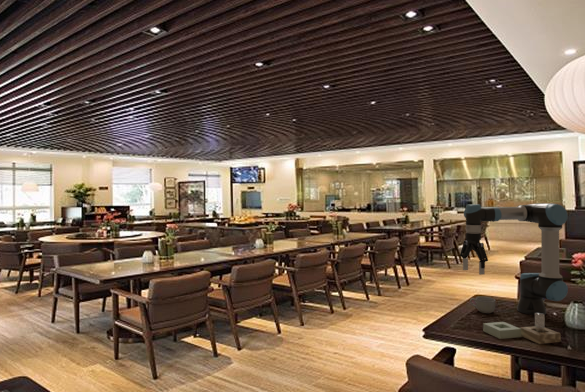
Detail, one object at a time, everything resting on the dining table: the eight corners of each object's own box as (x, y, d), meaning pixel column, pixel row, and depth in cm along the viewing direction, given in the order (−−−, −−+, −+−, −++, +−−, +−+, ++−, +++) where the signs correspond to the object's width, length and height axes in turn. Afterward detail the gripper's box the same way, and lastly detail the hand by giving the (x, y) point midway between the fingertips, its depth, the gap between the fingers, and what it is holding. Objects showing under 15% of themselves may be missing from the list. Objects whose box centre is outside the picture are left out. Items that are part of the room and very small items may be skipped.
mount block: (540, 333, 209) (540, 325, 209) (560, 341, 197) (560, 333, 197) (519, 335, 206) (519, 327, 206) (539, 343, 194) (539, 335, 194)
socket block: (503, 329, 216) (503, 321, 216) (521, 337, 204) (521, 328, 204) (483, 331, 213) (483, 323, 213) (499, 338, 201) (499, 330, 201)
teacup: (496, 311, 250) (496, 297, 250) (494, 315, 241) (494, 301, 241) (471, 308, 258) (471, 295, 258) (468, 312, 249) (468, 298, 249)
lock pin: (539, 337, 204) (539, 312, 204) (546, 339, 200) (546, 314, 200) (533, 337, 203) (532, 312, 203) (539, 340, 199) (539, 315, 199)
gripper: (453, 231, 236) (453, 268, 236) (482, 234, 212) (482, 276, 212) (464, 230, 238) (465, 268, 238) (495, 234, 214) (495, 276, 214)
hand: (473, 272), depth 225 cm, fingers open, 13 cm apart
